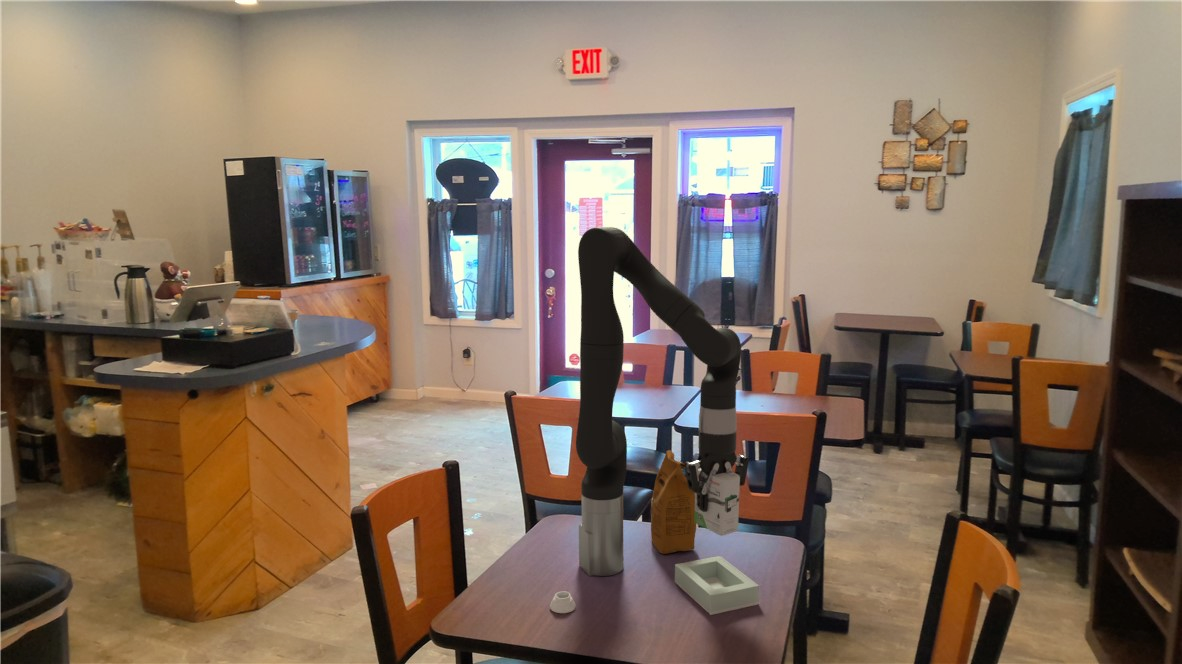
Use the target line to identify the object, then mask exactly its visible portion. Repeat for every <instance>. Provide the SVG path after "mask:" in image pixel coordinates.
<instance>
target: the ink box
mask: <svg viewBox="0 0 1182 664" xmlns="http://www.w3.org/2000/svg"><path fill="white" fill-rule="evenodd" d="M700 472H701V468H700V467H698V472H697V478H698V477H699V474H700ZM703 477H705V478H707V477H708V476H707V475H706V474H705V473H704V472H703ZM698 481H699V478H698ZM740 486H741V485H740V476H739V475H738V474H736V473H735V472H733V473H721V474H716V475H715V476H713V478H712V484H711V485H709V488H708V491H707V493H706V494H708V506H707V512H703V511H701V510H700V509H699V508H698V506H697V493H695V516H694V523H696V525H698V526H700V527H702V528H704V529H706V530H709V531H710V532H713V533H714V534H716V535H718V536H720V537H723V536H726V535H729V534H733V533H736V532H738V531H739V514H740V512H739V511H740V508H739V507H740V490H741V489H740Z"/></svg>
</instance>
